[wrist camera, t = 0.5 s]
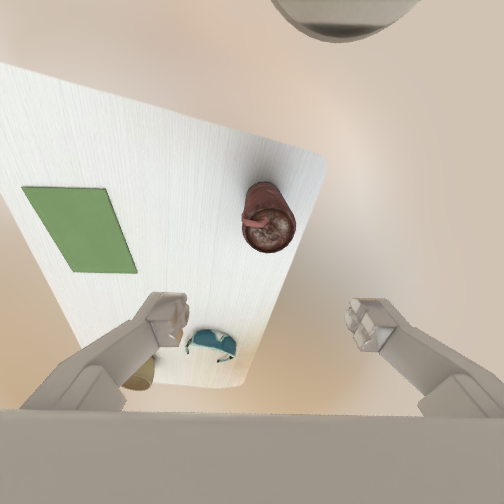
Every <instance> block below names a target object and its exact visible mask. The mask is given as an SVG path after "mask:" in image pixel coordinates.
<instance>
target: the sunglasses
mask: <svg viewBox="0 0 504 504" xmlns="http://www.w3.org/2000/svg"><path fill="white" fill-rule="evenodd" d="M190 344H191V345H193V346H199V347H205V348H210V349H213V350H217V351H220V352H223V353H225V354H228V355H230V357H229V358H227V359H223V360H218V361H217V362H226V361H229V360H231V359H232V358H234V357H235V354H236V343H235V341H234V340H233V339H232V338H231V337H230V336H228V335H223V336H222V338H221V339H218V337H217V334H216V332H214V331H212V330H201V331H197V332H196V333H194V335H193V336H192V338H191V339H190V340H189V341H188V343H187V345H186V346H185V351H186V353H187V354H189V351H188V350H187V347H188V346H189V345H190Z"/></svg>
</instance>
